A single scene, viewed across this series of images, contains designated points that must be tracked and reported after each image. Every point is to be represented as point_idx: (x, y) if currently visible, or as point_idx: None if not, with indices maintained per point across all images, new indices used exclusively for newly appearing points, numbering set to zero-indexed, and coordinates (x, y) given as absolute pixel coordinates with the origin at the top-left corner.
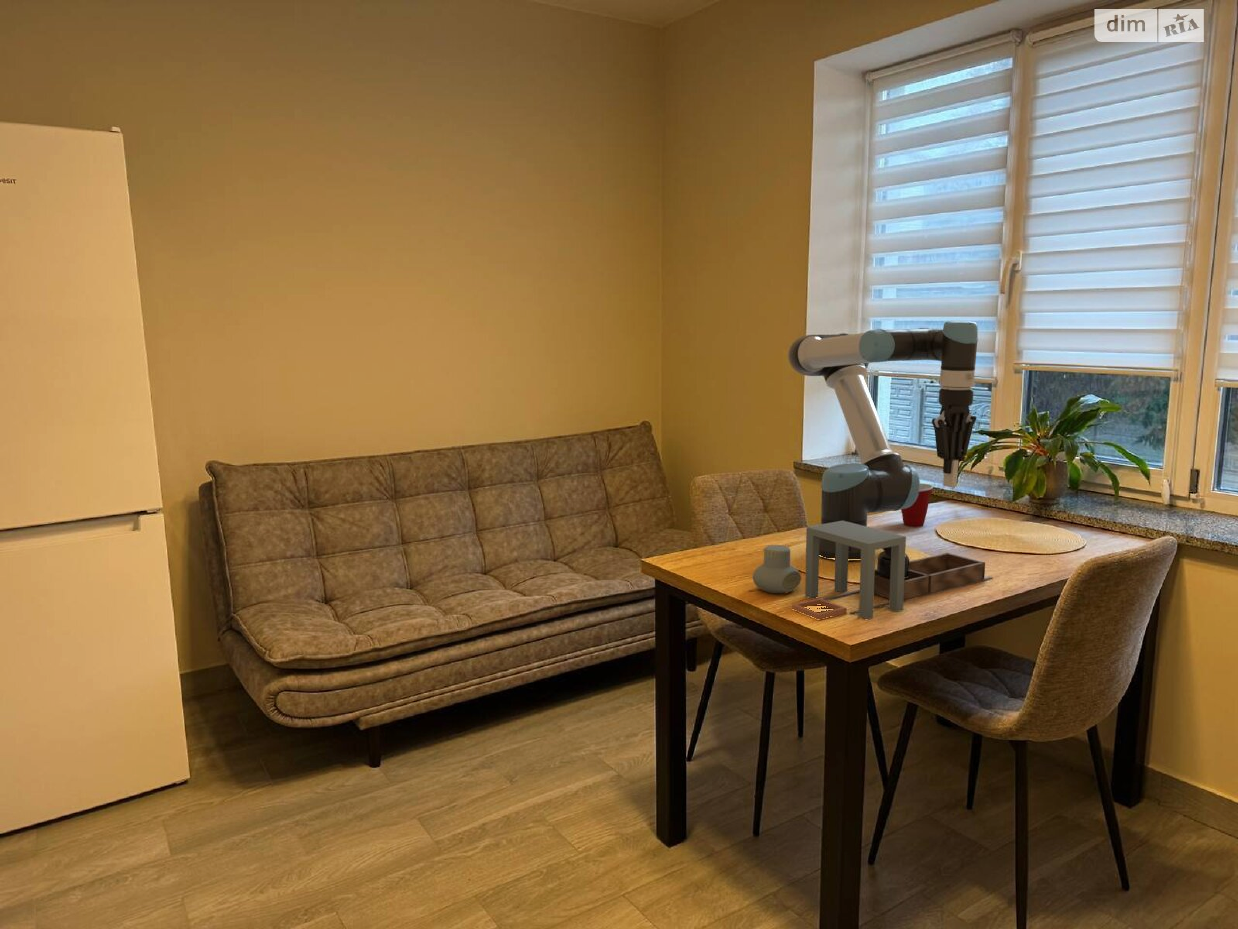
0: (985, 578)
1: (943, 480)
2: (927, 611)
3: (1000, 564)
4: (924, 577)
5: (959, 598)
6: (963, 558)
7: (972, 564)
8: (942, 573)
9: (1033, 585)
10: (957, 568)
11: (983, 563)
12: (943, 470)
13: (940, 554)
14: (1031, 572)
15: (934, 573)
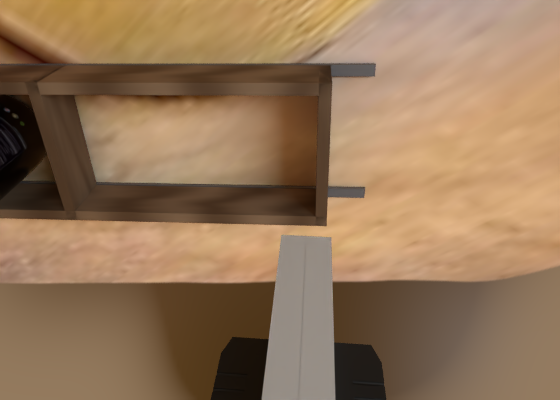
0: (337, 193)
1: (279, 262)
2: (19, 254)
3: (542, 120)
4: (50, 218)
5: (149, 241)
6: (317, 159)
7: (275, 217)
8: (127, 219)
9: (392, 276)
10: (200, 218)
11: (318, 224)
12: (219, 360)
13: (287, 85)
14: (514, 218)
15: (100, 212)
